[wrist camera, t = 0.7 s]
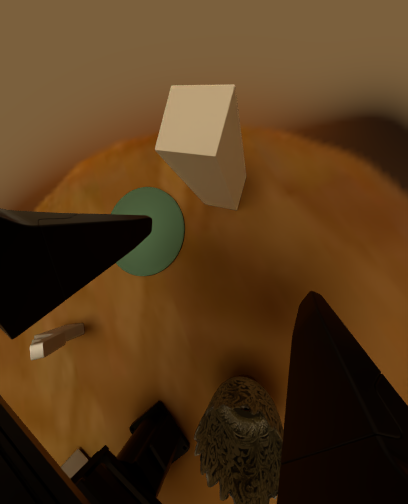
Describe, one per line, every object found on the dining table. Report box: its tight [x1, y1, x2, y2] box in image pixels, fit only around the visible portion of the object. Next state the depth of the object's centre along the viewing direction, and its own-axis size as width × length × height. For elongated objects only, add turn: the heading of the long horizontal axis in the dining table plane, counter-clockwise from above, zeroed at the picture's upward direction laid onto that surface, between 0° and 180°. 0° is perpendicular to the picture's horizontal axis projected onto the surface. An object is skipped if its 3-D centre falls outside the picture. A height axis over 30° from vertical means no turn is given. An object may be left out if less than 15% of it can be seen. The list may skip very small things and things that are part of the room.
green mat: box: [111, 187, 185, 276], centre depth 26 cm, size 13×13×1 cm
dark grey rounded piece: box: [194, 375, 284, 504], centre depth 17 cm, size 8×7×8 cm
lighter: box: [30, 323, 84, 360], centre depth 25 cm, size 7×2×8 cm, turn 100°
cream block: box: [155, 84, 246, 210], centre depth 17 cm, size 4×4×12 cm
